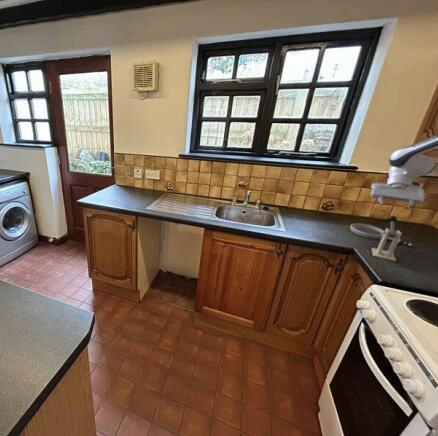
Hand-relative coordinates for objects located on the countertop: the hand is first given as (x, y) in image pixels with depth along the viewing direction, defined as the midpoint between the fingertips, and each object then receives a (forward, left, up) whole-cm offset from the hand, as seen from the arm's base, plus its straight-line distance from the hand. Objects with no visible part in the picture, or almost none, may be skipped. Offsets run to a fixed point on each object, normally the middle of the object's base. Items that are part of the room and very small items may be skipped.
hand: (394, 206), depth 126 cm
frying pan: (-1, -11, -22) cm, 24 cm away
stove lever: (0, +11, -9) cm, 14 cm away
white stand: (0, +17, -22) cm, 28 cm away
